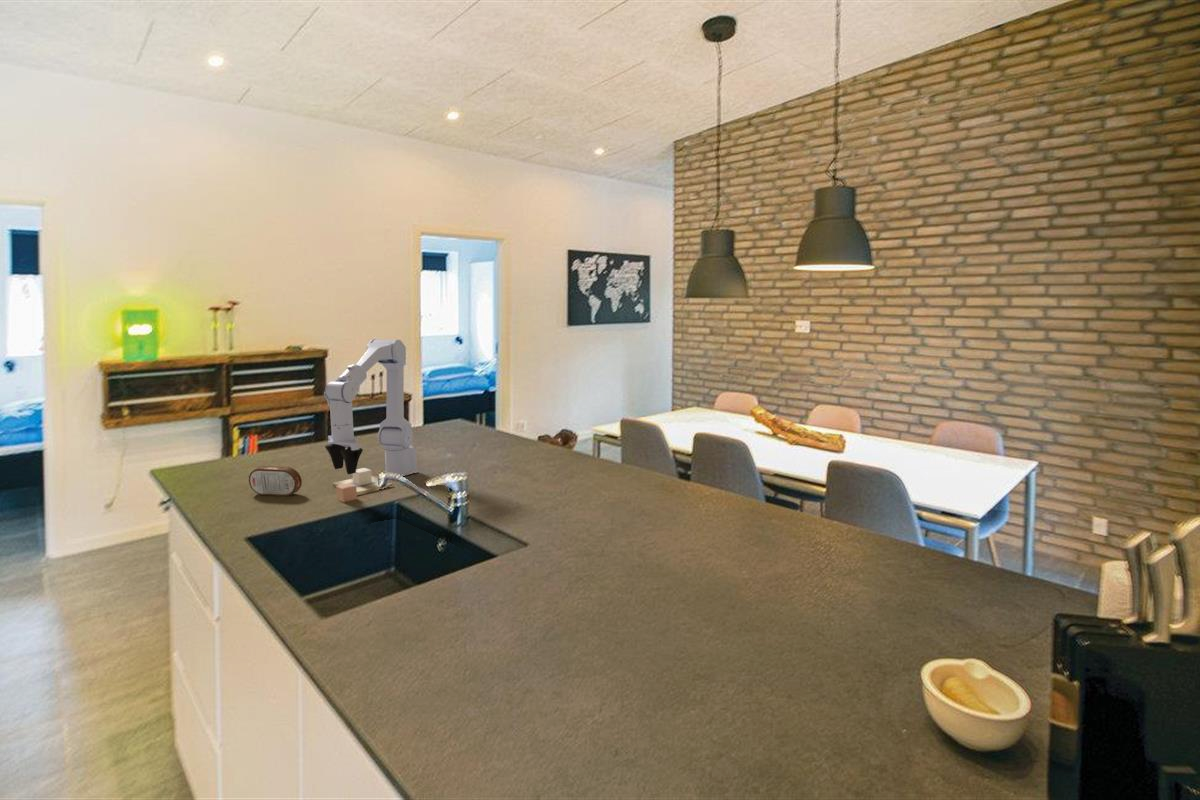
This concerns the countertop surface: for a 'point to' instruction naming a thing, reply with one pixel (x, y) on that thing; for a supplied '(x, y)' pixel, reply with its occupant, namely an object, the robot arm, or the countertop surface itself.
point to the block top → (346, 492)
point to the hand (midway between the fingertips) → (345, 470)
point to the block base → (362, 476)
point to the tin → (275, 480)
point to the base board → (363, 488)
